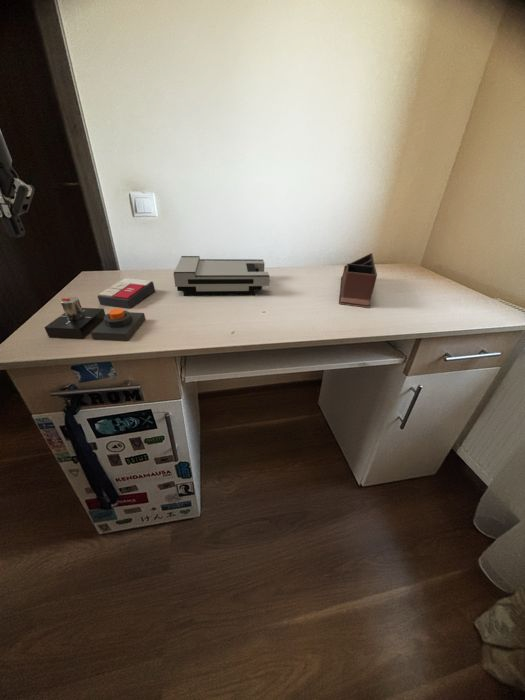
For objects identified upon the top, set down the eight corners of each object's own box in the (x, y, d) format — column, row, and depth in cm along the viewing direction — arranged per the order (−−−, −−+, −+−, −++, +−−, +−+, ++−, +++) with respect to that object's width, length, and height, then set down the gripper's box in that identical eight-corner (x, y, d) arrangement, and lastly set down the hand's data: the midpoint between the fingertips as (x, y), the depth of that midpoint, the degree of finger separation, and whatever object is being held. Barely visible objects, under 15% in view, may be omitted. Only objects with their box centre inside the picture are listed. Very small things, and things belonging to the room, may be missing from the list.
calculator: (95, 293, 87) (124, 276, 99) (100, 306, 90) (127, 287, 102) (127, 297, 85) (153, 279, 97) (131, 310, 88) (155, 291, 100)
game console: (268, 295, 100) (269, 273, 96) (176, 296, 97) (173, 273, 92) (262, 276, 117) (263, 256, 113) (184, 276, 114) (181, 256, 109)
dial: (87, 314, 77) (81, 296, 74) (78, 321, 74) (71, 302, 71) (73, 313, 77) (66, 295, 74) (63, 319, 74) (56, 301, 71)
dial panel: (83, 339, 72) (79, 328, 70) (48, 337, 72) (43, 326, 70) (106, 317, 82) (103, 308, 80) (75, 316, 82) (72, 306, 80)
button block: (128, 341, 72) (124, 327, 70) (93, 339, 72) (88, 325, 70) (145, 319, 82) (142, 307, 80) (115, 318, 82) (111, 305, 80)
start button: (121, 320, 74) (119, 314, 73) (107, 320, 74) (106, 314, 73) (127, 314, 77) (125, 308, 76) (114, 314, 77) (112, 308, 76)
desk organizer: (338, 304, 96) (344, 271, 90) (341, 277, 120) (346, 250, 114) (370, 308, 94) (379, 275, 88) (366, 280, 118) (373, 252, 112)
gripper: (-89, 125, 45) (-31, 239, 55) (-7, 129, 45) (37, 242, 54) (-45, 130, 51) (0, 231, 61) (27, 133, 51) (61, 234, 61)
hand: (18, 236), depth 58 cm, fingers closed
